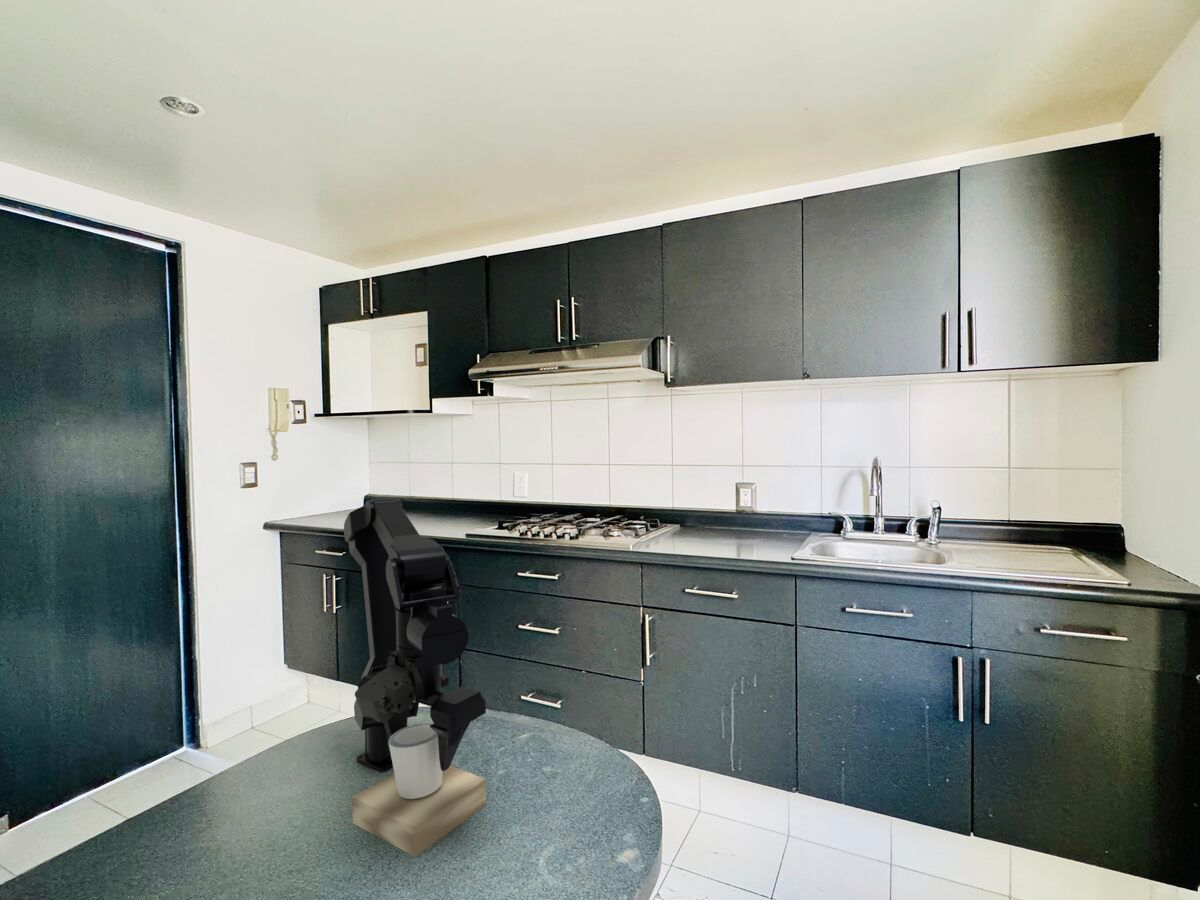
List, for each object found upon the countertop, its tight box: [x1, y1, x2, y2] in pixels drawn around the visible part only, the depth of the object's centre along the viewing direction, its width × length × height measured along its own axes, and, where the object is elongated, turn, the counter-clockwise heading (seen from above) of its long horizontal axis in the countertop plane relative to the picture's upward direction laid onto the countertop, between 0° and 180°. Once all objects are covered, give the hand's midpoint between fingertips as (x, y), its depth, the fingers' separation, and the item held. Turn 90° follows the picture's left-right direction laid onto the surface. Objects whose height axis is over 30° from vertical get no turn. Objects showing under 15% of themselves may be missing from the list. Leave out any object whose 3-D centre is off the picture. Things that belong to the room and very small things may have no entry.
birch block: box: [351, 765, 487, 857], centre depth 78 cm, size 12×12×4 cm
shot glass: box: [388, 722, 442, 799], centre depth 78 cm, size 7×7×7 cm
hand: (420, 760), depth 78 cm, fingers open, 9 cm apart
